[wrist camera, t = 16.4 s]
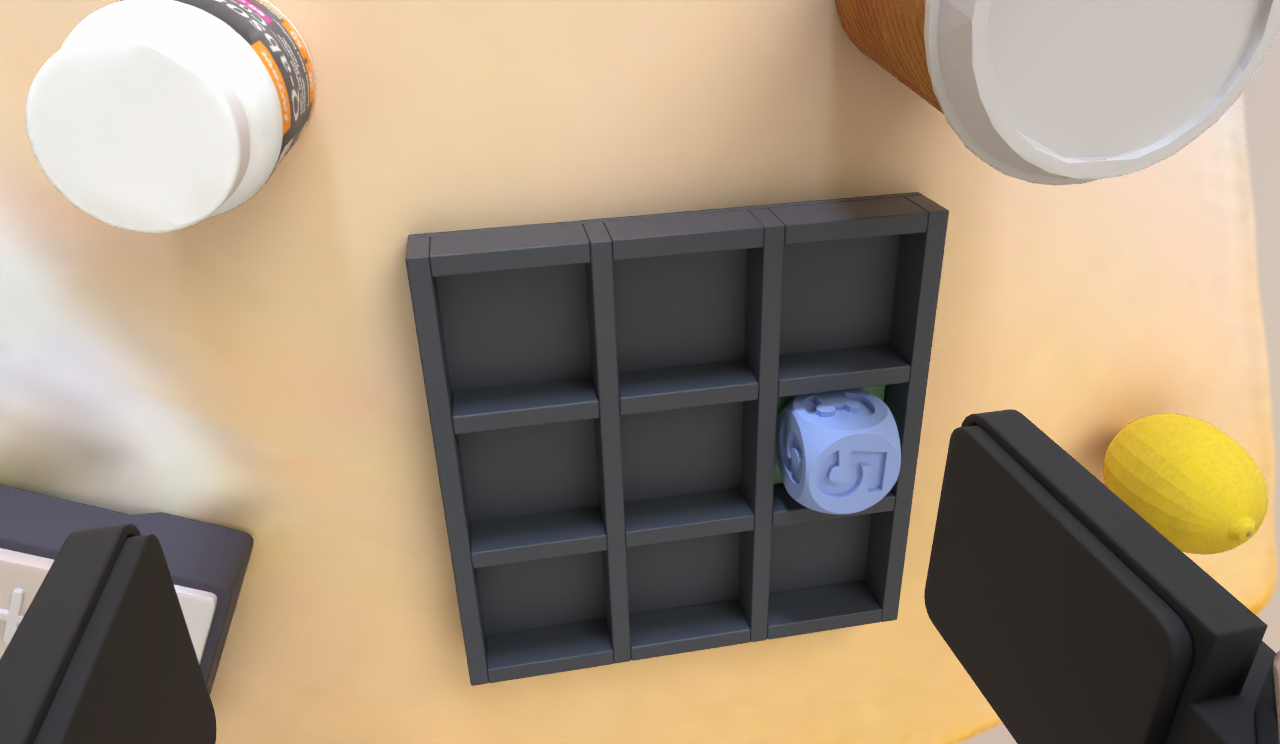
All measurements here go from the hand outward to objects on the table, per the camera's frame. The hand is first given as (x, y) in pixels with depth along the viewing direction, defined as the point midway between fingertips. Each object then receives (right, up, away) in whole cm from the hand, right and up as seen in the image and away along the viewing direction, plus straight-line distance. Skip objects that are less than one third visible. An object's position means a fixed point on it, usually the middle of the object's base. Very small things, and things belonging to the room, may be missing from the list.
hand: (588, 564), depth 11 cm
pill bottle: (-13, +12, +20) cm, 26 cm away
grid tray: (+2, 0, +29) cm, 29 cm away
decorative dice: (+8, 0, +29) cm, 31 cm away
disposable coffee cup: (+10, +17, +22) cm, 30 cm away
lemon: (+24, -1, +34) cm, 41 cm away
